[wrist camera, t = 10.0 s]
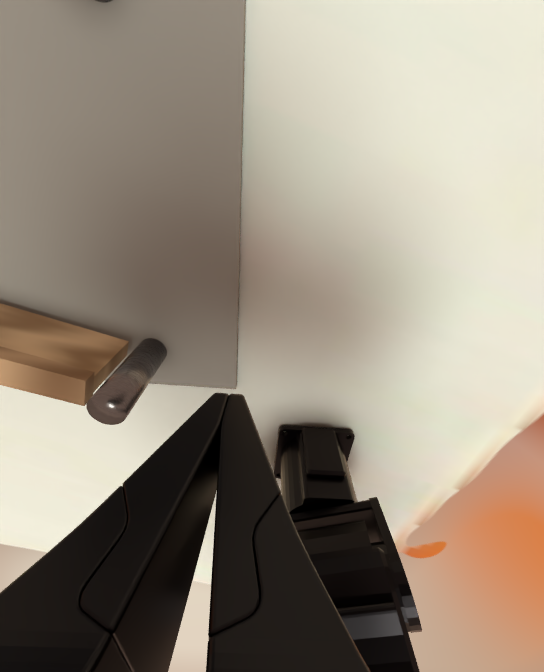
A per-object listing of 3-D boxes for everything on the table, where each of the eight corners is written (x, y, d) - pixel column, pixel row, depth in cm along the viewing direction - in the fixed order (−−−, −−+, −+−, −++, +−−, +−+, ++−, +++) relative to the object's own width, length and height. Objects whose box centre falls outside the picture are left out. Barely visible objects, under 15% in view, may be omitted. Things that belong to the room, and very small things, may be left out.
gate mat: (236, 385, 21) (235, 388, 21) (-52, 366, 21) (-58, 369, 20) (248, -119, 10) (247, -130, 10) (-375, -199, 10) (-401, -214, 9)
